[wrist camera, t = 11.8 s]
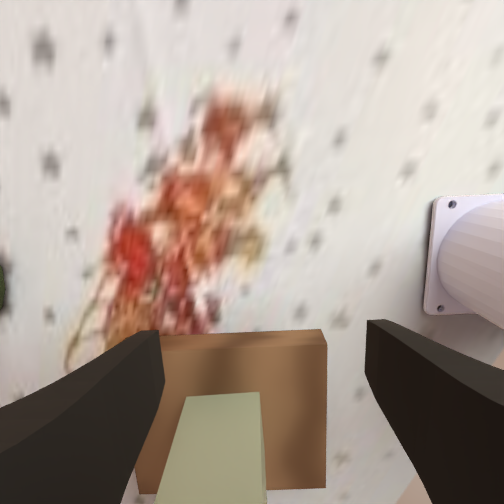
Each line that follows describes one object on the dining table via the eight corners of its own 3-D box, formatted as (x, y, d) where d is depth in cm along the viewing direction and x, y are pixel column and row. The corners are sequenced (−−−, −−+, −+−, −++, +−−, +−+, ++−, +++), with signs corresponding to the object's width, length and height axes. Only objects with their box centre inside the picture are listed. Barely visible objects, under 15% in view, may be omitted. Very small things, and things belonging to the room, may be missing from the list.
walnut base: (320, 329, 22) (327, 344, 20) (319, 463, 25) (325, 488, 23) (126, 337, 22) (114, 353, 20) (148, 469, 25) (139, 494, 23)
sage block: (259, 391, 21) (262, 522, 13) (264, 451, 22) (270, 602, 14) (186, 396, 21) (146, 528, 13) (195, 455, 22) (164, 608, 14)
